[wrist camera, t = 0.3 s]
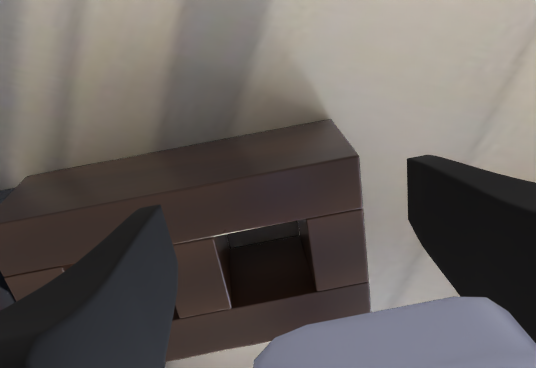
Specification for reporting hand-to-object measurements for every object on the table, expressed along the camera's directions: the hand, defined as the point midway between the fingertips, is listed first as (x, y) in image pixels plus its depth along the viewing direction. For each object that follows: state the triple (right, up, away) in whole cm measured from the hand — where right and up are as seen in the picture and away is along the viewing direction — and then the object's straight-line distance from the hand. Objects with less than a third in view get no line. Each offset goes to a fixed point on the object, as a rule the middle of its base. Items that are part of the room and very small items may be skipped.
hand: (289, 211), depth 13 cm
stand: (-4, -1, +11) cm, 12 cm away
